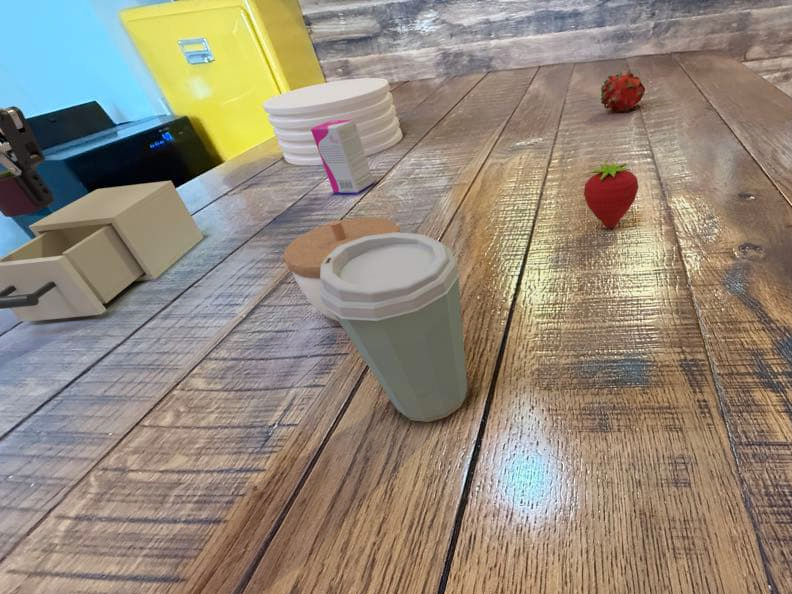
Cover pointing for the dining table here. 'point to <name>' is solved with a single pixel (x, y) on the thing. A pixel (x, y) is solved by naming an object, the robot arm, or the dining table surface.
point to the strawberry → (611, 193)
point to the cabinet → (135, 222)
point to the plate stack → (333, 116)
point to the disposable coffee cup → (402, 318)
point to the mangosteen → (14, 197)
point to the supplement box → (343, 157)
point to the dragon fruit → (622, 92)
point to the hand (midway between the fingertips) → (25, 205)
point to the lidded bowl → (327, 251)
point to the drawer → (66, 273)
